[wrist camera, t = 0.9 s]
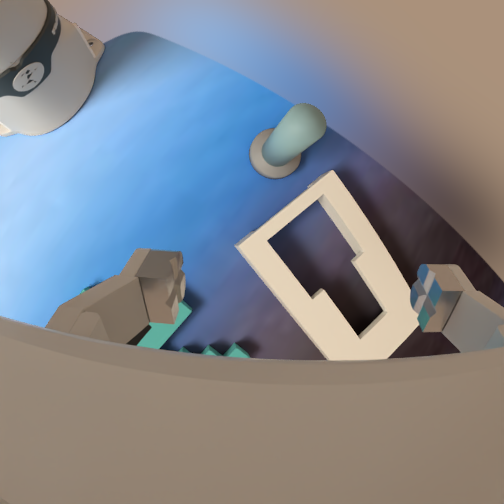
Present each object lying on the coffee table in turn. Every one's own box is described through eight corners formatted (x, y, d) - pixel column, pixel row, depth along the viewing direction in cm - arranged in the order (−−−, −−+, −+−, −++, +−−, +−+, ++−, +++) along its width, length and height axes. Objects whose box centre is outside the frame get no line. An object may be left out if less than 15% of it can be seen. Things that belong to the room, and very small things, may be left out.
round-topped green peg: (238, 149, 36) (258, 112, 24) (276, 123, 36) (309, 81, 25) (270, 189, 37) (303, 168, 25) (306, 161, 37) (351, 132, 26)
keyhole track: (234, 245, 36) (238, 246, 33) (321, 174, 38) (332, 169, 34) (343, 379, 40) (354, 389, 36) (411, 312, 41) (425, 317, 38)
